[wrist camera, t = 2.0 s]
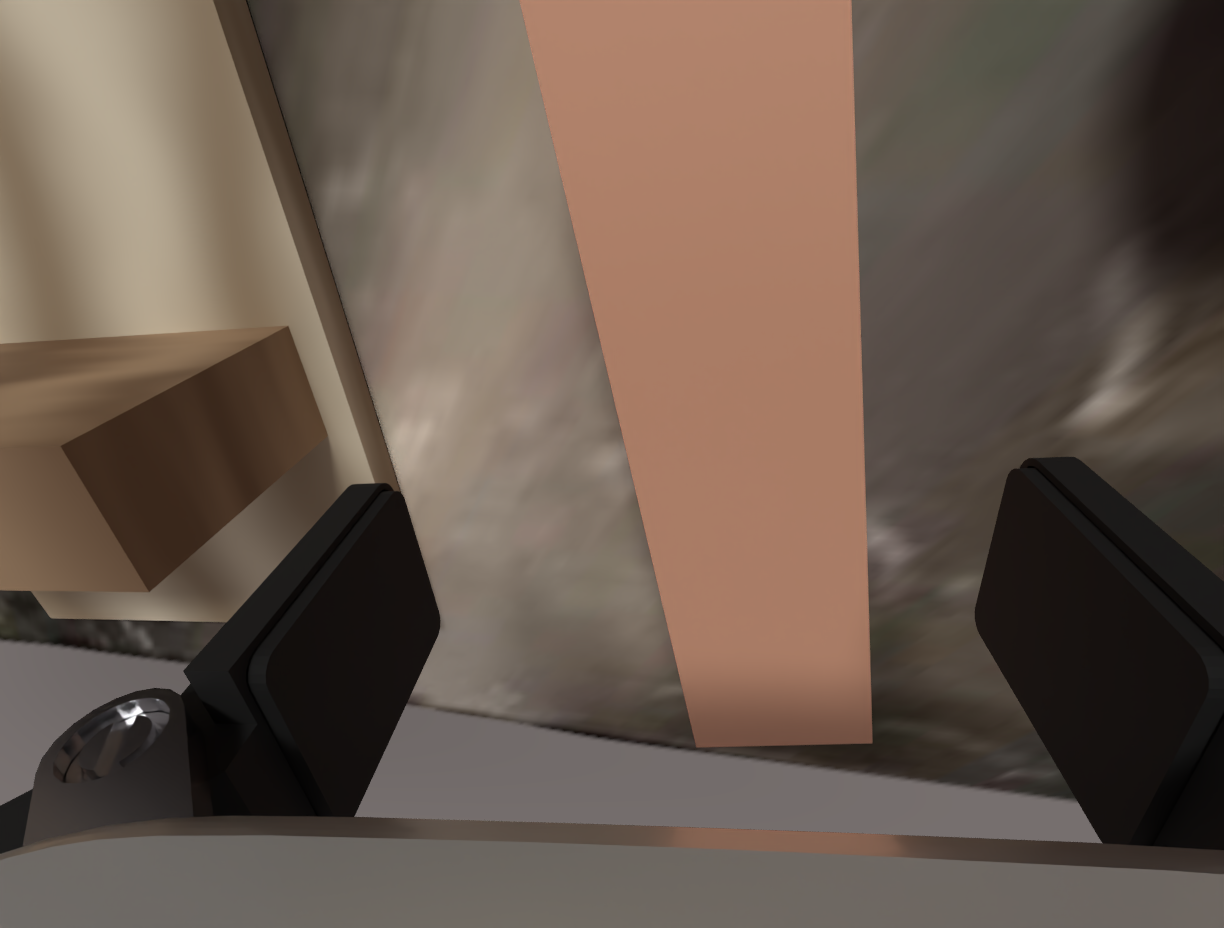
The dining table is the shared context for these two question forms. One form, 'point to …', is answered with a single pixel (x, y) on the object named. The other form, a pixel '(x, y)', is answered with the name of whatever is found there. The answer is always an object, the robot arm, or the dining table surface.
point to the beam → (729, 334)
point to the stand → (161, 317)
